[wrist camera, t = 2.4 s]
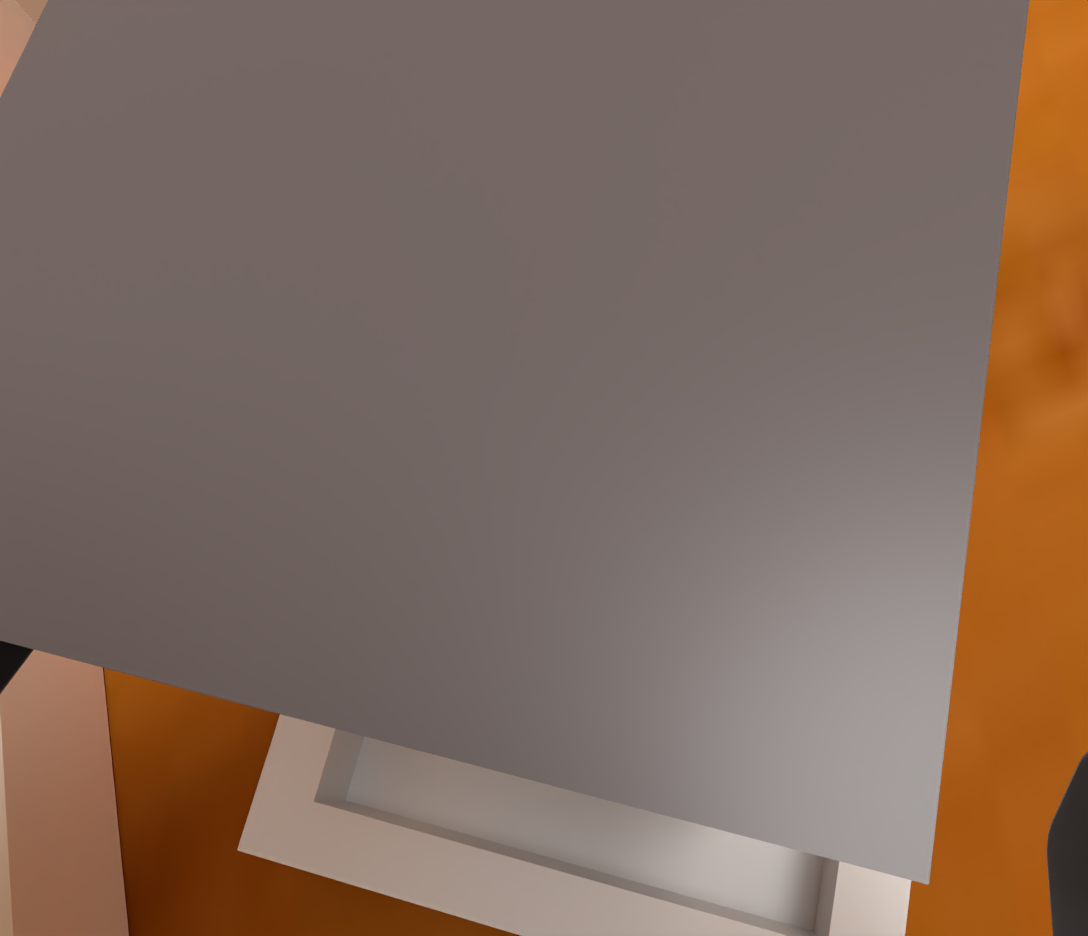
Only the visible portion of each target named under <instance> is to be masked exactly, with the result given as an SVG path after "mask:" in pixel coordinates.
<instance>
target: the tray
mask: <svg viewBox="0 0 1088 936" xmlns="http://www.w3.org/2000/svg"><path fill="white" fill-rule="evenodd" d="M237 851H241V852H244V853H247V854H251V855H254V856H257V857H261V858H264V859H267V860H271V861H274V862H277V863H281V864H284V865H287V866H291V867H294V868H297V869H300V870H304V871H307V872H310V873H314V874H317V875H320V876H324V877H327V878H330V879H334V880H337V881H340V882H344V883H347V884H350V885H354V886H357V887H360V888H364V889H367V890H370V891H374V892H377V893H380V894H384V895H387V896H390V897H394V898H397V899H400V900H404V901H407V902H410V903H414V904H417V905H420V906H424V907H427V908H430V909H434V910H437V911H440V912H444V913H447V914H450V915H454V916H457V917H460V918H464V919H467V920H470V921H474V922H477V923H480V924H484V925H487V926H490V927H494V928H497V929H500V930H504V931H507V932H510V933H514V934H517V935H520V936H905V929H906V920H907V912H908V904H909V895H910V887H911V880H909V879H905V878H901V877H897V876H893V875H890V874H886V873H882V872H878V871H874V870H871V869H867V868H863V867H859V866H855V865H852V864H848V863H844V862H840V861H836V860H833V859H829V858H825V857H821V856H817V855H814V854H810V853H806V852H802V851H798V850H795V849H791V848H787V847H783V846H779V845H776V844H772V843H768V842H764V841H760V840H757V839H753V838H749V837H745V836H741V835H738V834H734V833H730V832H726V831H722V830H719V829H715V828H711V827H707V826H703V825H700V824H696V823H692V822H688V821H684V820H681V819H677V818H673V817H669V816H665V815H662V814H658V813H654V812H650V811H646V810H643V809H639V808H635V807H631V806H627V805H624V804H620V803H616V802H612V801H608V800H605V799H601V798H597V797H593V796H589V795H586V794H582V793H578V792H574V791H570V790H566V789H563V788H559V787H555V786H551V785H547V784H544V783H540V782H536V781H532V780H528V779H525V778H521V777H517V776H513V775H509V774H506V773H502V772H498V771H494V770H490V769H487V768H483V767H479V766H475V765H471V764H468V763H464V762H460V761H456V760H452V759H449V758H445V757H441V756H437V755H433V754H430V753H426V752H422V751H418V750H414V749H411V748H407V747H403V746H399V745H395V744H392V743H388V742H384V741H380V740H376V739H373V738H369V737H365V736H361V735H357V734H354V733H350V732H346V731H342V730H338V729H335V728H331V727H327V726H323V725H319V724H316V723H312V722H308V721H304V720H300V719H297V718H293V717H289V716H285V715H281V714H280V716H279V719H278V723H277V726H276V729H275V732H274V735H273V738H272V741H271V745H270V748H269V751H268V754H267V757H266V760H265V764H264V767H263V770H262V773H261V776H260V779H259V782H258V786H257V789H256V792H255V795H254V798H253V801H252V805H251V808H250V811H249V814H248V817H247V820H246V823H245V827H244V830H243V833H242V836H241V839H240V842H239V846H238V849H237Z"/></svg>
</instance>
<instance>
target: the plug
mask: <svg viewBox="0 0 1088 936" xmlns="http://www.w3.org/2000/svg"><path fill="white" fill-rule="evenodd" d="M1028 5H1029V0H48V2H47V4H46V6H45V8H44V10H43V12H42V14H41V16H40V18H39V20H38V22H37V24H36V26H35V28H34V30H33V32H32V34H31V36H30V38H29V40H28V42H27V44H26V46H25V48H24V50H23V52H22V54H21V56H20V58H19V60H18V62H17V64H16V66H15V68H14V70H13V72H12V74H11V77H10V79H9V81H8V83H7V85H6V87H5V89H4V91H3V93H2V95H1V97H0V641H4V642H8V643H11V644H15V645H19V646H23V647H27V648H30V649H34V650H38V651H42V652H46V653H49V654H53V655H57V656H61V657H65V658H68V659H72V660H76V661H80V662H84V663H87V664H91V665H95V666H99V667H103V668H106V669H110V670H114V671H118V672H122V673H125V674H129V675H133V676H137V677H141V678H144V679H148V680H152V681H156V682H160V683H163V684H167V685H171V686H175V687H179V688H182V689H186V690H190V691H194V692H198V693H201V694H205V695H209V696H213V697H217V698H221V699H224V700H228V701H232V702H236V703H240V704H243V705H247V706H251V707H255V708H259V709H262V710H266V711H270V712H274V713H278V714H281V715H285V716H289V717H293V718H297V719H300V720H304V721H308V722H312V723H316V724H319V725H323V726H327V727H331V728H335V729H338V730H342V731H346V732H350V733H354V734H357V735H361V736H365V737H369V738H373V739H376V740H380V741H384V742H388V743H392V744H395V745H399V746H403V747H407V748H411V749H414V750H418V751H422V752H426V753H430V754H433V755H437V756H441V757H445V758H449V759H452V760H456V761H460V762H464V763H468V764H471V765H475V766H479V767H483V768H487V769H490V770H494V771H498V772H502V773H506V774H509V775H513V776H517V777H521V778H525V779H528V780H532V781H536V782H540V783H544V784H547V785H551V786H555V787H559V788H563V789H566V790H570V791H574V792H578V793H582V794H586V795H589V796H593V797H597V798H601V799H605V800H608V801H612V802H616V803H620V804H624V805H627V806H631V807H635V808H639V809H643V810H646V811H650V812H654V813H658V814H662V815H665V816H669V817H673V818H677V819H681V820H684V821H688V822H692V823H696V824H700V825H703V826H707V827H711V828H715V829H719V830H722V831H726V832H730V833H734V834H738V835H741V836H745V837H749V838H753V839H757V840H760V841H764V842H768V843H772V844H776V845H779V846H783V847H787V848H791V849H795V850H798V851H802V852H806V853H810V854H814V855H817V856H821V857H825V858H829V859H833V860H836V861H840V862H844V863H848V864H852V865H855V866H859V867H863V868H867V869H871V870H874V871H878V872H882V873H886V874H890V875H893V876H897V877H901V878H905V879H909V880H912V881H916V882H920V883H924V884H928V885H929V878H930V870H931V861H932V852H933V843H934V834H935V825H936V817H937V808H938V799H939V790H940V781H941V772H942V764H943V755H944V746H945V737H946V728H947V720H948V711H949V702H950V693H951V684H952V675H953V667H954V658H955V649H956V640H957V631H958V623H959V614H960V605H961V596H962V587H963V578H964V570H965V561H966V552H967V543H968V534H969V526H970V517H971V508H972V499H973V490H974V481H975V473H976V464H977V455H978V446H979V437H980V428H981V420H982V411H983V402H984V393H985V384H986V376H987V367H988V358H989V349H990V340H991V331H992V323H993V314H994V305H995V296H996V287H997V279H998V270H999V261H1000V252H1001V243H1002V234H1003V226H1004V217H1005V208H1006V199H1007V190H1008V181H1009V173H1010V164H1011V155H1012V146H1013V137H1014V129H1015V120H1016V111H1017V102H1018V93H1019V84H1020V76H1021V67H1022V58H1023V49H1024V40H1025V32H1026V23H1027V14H1028Z"/></svg>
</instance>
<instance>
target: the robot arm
mask: <svg viewBox="0 0 1088 936" xmlns="http://www.w3.org/2000/svg"><path fill="white" fill-rule="evenodd" d="M33 650H34V649H30V648H27V647H23V646H19V645H15V644H11V643H8V642H4V641H0V694H1V693H2V691H3V690H4V689H5V687H6V686H7V685H8V683H9V682H10V681H11V679H12V678H13V677H14V675H15V674H16V673H17V671H18V670H19V669H20V667H21V666H22V665H23V663H24V662H25V661H26V659H27V658H28V657H29V655H30V654H31V653H32V652H33ZM1047 866H1048V878H1049V891H1050V904H1051V917H1052V930H1053V936H1088V752H1087V753H1086V754H1085V755H1084V756H1083V757H1082V758H1081V760H1080V762H1079V763H1078V766H1077V768H1076V770H1075V772H1074V774H1073V777H1072V779H1071V781H1070V783H1069V785H1068V787H1067V790H1066V792H1065V794H1064V796H1063V798H1062V801H1061V803H1060V805H1059V807H1058V809H1057V811H1056V814H1055V816H1054V818H1053V820H1052V823H1051V825H1050V829H1049V833H1048V840H1047Z"/></svg>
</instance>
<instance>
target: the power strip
mask: <svg viewBox="0 0 1088 936" xmlns="http://www.w3.org/2000/svg"><path fill="white" fill-rule="evenodd" d="M35 26H36V24H35V23H34V22H33V21H32V19H31V18H30V17H29V16H28V15H27V14H26V13H25V11H24V10H23V9H22V8H21V6H20V5H19V4H18V3H17V2H16V1H15V0H0V97H1V95H2V93H3V91H4V89H5V87H6V85H7V83H8V81H9V79H10V77H11V74H12V72H13V70H14V68H15V66H16V64H17V62H18V60H19V58H20V56H21V54H22V52H23V50H24V48H25V46H26V44H27V42H28V40H29V38H30V36H31V34H32V32H33V30H34V28H35ZM0 936H129V931H128V921H127V910H126V900H125V890H124V880H123V869H122V859H121V849H120V839H119V829H118V818H117V808H116V798H115V788H114V777H113V767H112V757H111V747H110V737H109V726H108V716H107V706H106V696H105V685H104V675H103V667H99V666H95V665H91V664H87V663H84V662H80V661H76V660H72V659H68V658H65V657H61V656H57V655H53V654H49V653H46V652H42V651H38V650H33V652H32V653H31V654H30V655H29V657H28V658H27V659H26V661H25V662H24V663H23V665H22V666H21V667H20V669H19V670H18V671H17V673H16V674H15V675H14V677H13V678H12V679H11V681H10V682H9V683H8V685H7V686H6V687H5V689H4V690H3V691H2V693H1V694H0Z"/></svg>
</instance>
